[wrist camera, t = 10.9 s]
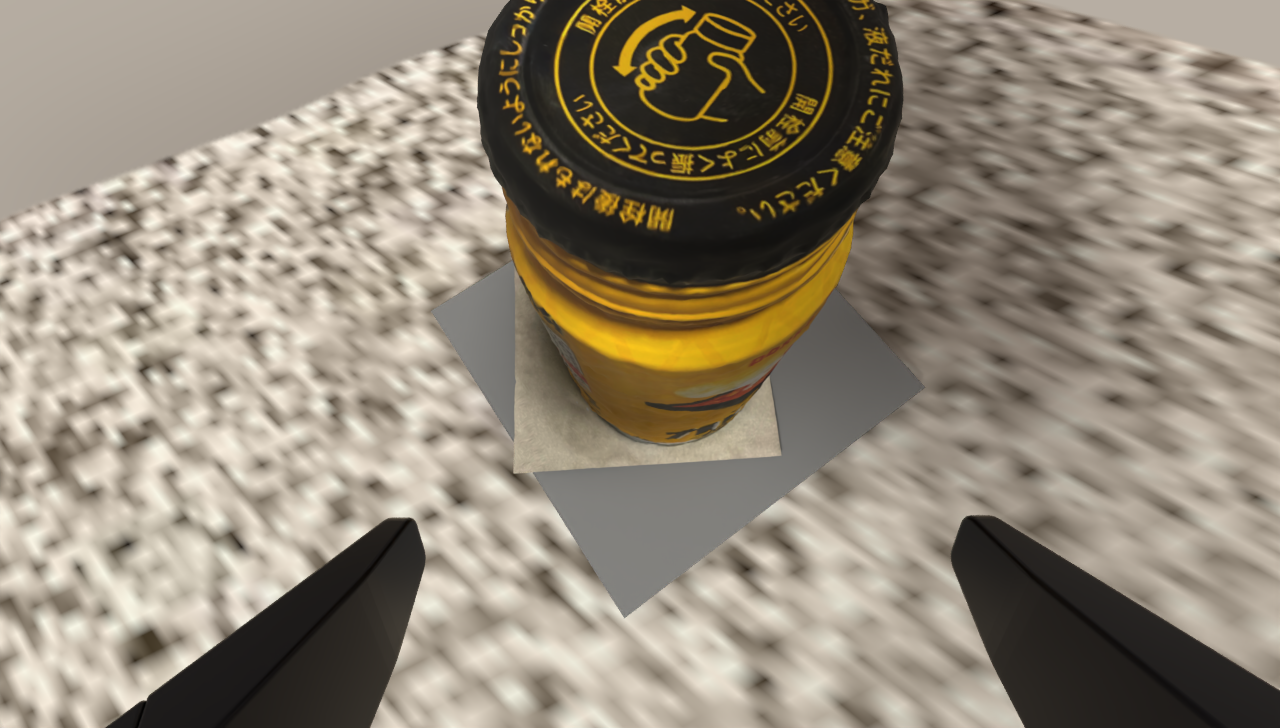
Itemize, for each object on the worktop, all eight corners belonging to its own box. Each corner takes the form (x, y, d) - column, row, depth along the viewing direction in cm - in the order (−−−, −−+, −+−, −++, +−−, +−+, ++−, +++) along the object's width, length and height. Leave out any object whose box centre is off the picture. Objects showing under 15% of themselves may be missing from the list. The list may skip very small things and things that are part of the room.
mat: (917, 391, 17) (925, 387, 17) (625, 615, 16) (624, 618, 15) (701, 151, 20) (702, 143, 20) (436, 316, 19) (431, 310, 18)
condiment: (780, 456, 16) (1074, 304, 5) (514, 473, 16) (191, 365, 5) (751, 252, 18) (908, -187, 7) (516, 268, 19) (293, -140, 7)
